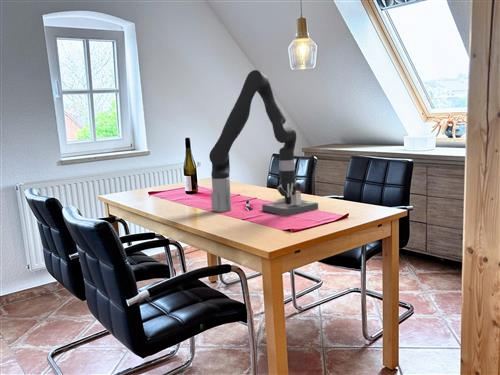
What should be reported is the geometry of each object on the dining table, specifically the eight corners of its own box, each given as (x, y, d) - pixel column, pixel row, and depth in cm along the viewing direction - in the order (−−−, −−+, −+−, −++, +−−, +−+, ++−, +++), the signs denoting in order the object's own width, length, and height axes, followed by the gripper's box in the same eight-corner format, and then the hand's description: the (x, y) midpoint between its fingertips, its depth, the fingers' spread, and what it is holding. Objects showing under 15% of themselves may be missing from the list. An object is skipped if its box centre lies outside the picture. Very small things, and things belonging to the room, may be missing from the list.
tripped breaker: (296, 205, 238) (296, 192, 237) (291, 204, 241) (290, 191, 240) (301, 204, 240) (300, 191, 239) (295, 203, 243) (295, 190, 242)
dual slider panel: (287, 215, 232) (286, 209, 232) (262, 210, 247) (262, 204, 247) (318, 208, 245) (318, 202, 244) (292, 203, 260) (292, 198, 259)
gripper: (281, 171, 227) (283, 207, 230) (302, 168, 235) (303, 203, 238) (271, 170, 233) (273, 205, 236) (292, 167, 241) (293, 201, 244)
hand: (288, 204), depth 237 cm, fingers closed
